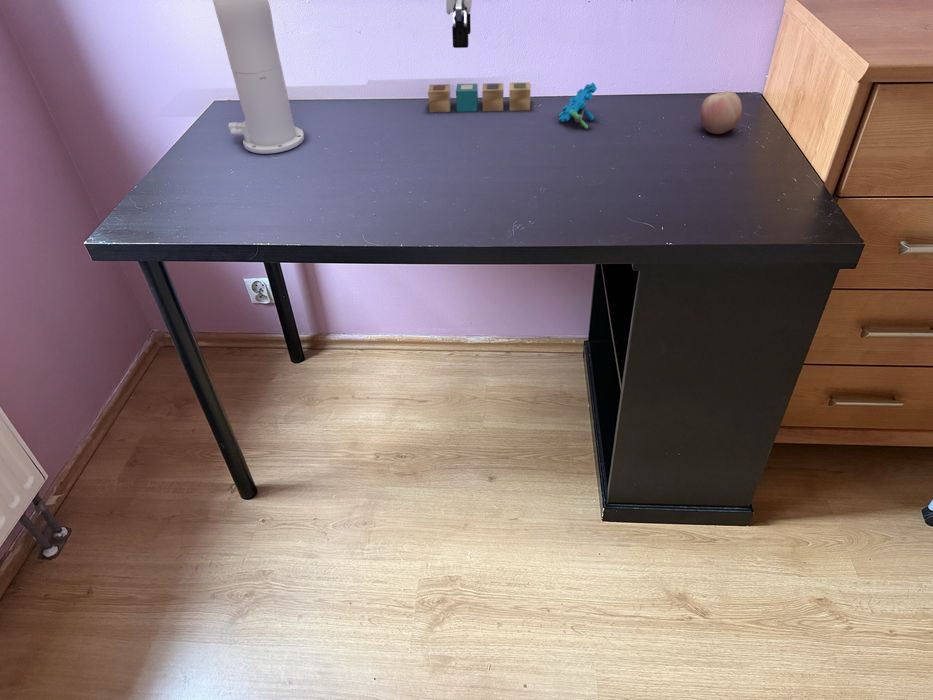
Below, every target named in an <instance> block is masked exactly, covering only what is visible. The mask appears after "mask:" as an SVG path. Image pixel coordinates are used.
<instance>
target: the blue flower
mask: <svg viewBox="0 0 933 700" xmlns="http://www.w3.org/2000/svg"><path fill="white" fill-rule="evenodd" d="M597 89H598V88H597V85H596V84H595V83H594V82H591V83H590V84H589V83H587V84H586V85H585V86H584V88H580V89H579V90H577V92H576V95H575V96H572V97H571V98H569V100H568V102H569V104H565V105H564V106H563V107H562V110H561V112H560V113H559V114H558V120H559V122H561V123H564V122H568V121H569V120H570V119H571V118H574V122H575V123H579V124H580V125H581V126H582V127H583V128H584V129H585V130H587V129H588V128H589V126H588V124H587V123H586V122H585V121H584V119H583V116H584V115H585V116H586V118H587V119H588V120H589V121H591V122H592V121H593V120H594V119H595V116H594V115H593V114H592V113H591V112H590V111H589V110H588V109H587V107H586V106H587V104H586V101H590V100H591V99H592V98H593V97H594V93H595V92H596V91H597Z"/></svg>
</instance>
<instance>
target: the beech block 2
mask: <svg viewBox="0 0 933 700" xmlns="http://www.w3.org/2000/svg"><path fill="white" fill-rule="evenodd" d="M481 101H482V112H503V111H504V82H489V83H488V82H487V83H486V82H485V83H482V90H481Z"/></svg>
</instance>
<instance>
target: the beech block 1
mask: <svg viewBox="0 0 933 700" xmlns="http://www.w3.org/2000/svg"><path fill="white" fill-rule="evenodd" d="M451 93H452V91H451V84H450V83H447V84H446V83H444V84H443V83H442V84H441V83H440V84H429V87H428V91H427V96H428V110H429V113H451V109H452V94H451Z"/></svg>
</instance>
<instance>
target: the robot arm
mask: <svg viewBox="0 0 933 700" xmlns="http://www.w3.org/2000/svg"><path fill="white" fill-rule="evenodd" d="M445 1H446V3H445V4H446V7H445V8H446V14H447V15H449V16H450V15H451V13H452V27H451V31H452V34H451V35H452V47H453V48H454V49H466V48H468V47H469V35H470V34H471V32H472V31H471V26H472V25H471V10H472V4H473V0H445ZM212 3H213V7H214V10H215V11H214V12H215V14H216V18H217V21H218V25H219V29H220V32H221V36H222V39H223V43H224V47H225V51H226V55H227V58H228V62H229V66H230V70H231V72H232V76H233V80H234V84H235V88H236V91H237V95H238V98H239V102H240V107H241V110H242V114H243V118H244V120H243V121H242V122H238V121H235V122H233V121H232V122H231V121H230V122H228V124H227V125H228V126H227V127H228V129H229V132H230V135H231V136H242V137H244V138H243V139H242V143H243V147H244V148H245V150H247V151H249V152H251V153H254V154H259V155H260V154H261V155H269V154H270V155H271V154H277V153H283V152H287V151H290V150H292V149H295V148H296V147H298V146H300V145H301V144H302V143H303V142H304V140H305V133H304V131H303V129H302V128H300V127H298V126H295V123H294V119H293V113H292V108H291V104H290V100H289V95H288V90H287V86H286V81H285V75H284V72H283V66H282V61H281V60H280V54H279V49H278V43H277V39H276V34H275V28H274V22H273V16H272V11H271V5H270V2H269V0H212Z"/></svg>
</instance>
